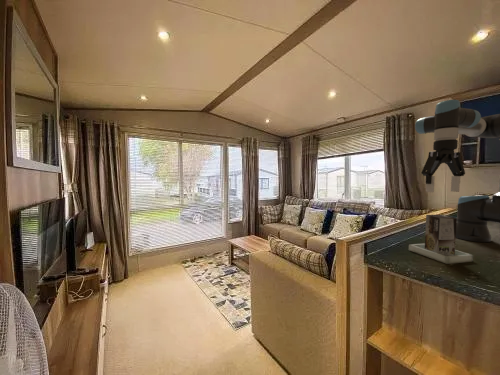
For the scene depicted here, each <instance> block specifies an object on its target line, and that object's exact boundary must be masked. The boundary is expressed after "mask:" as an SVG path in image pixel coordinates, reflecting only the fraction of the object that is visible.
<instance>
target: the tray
mask: <svg viewBox="0 0 500 375" xmlns="http://www.w3.org/2000/svg"><path fill="white" fill-rule="evenodd" d="M408 251H409V252H413V253H415V254H418V255H421V256H424V257H426V258H430V259H432V260H434V261H438V262H441V263H443V264H446V265H448V264H449V265H450V264H451V265H453V264H459V263H460V264H461V263H469V262H474V254H471V253H468V252H465V251H461V250H457V249H455V256H444V255H441V254H438V253H435V252H432V251H429V250H426V249H425V242H423V243H413V244H408Z"/></svg>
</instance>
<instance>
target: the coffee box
mask: <svg viewBox="0 0 500 375" xmlns="http://www.w3.org/2000/svg"><path fill="white" fill-rule="evenodd" d="M456 224H457V217H452V216H448V215H443V214H426V215H425V232H424V233H425V235H424V236H425V237H424V243H425V249H426V250H429V251H432V252H435V253H438V254H441V255H444V256H455V250H456V240H457V238H456Z"/></svg>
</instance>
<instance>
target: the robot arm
mask: <svg viewBox="0 0 500 375" xmlns="http://www.w3.org/2000/svg"><path fill="white" fill-rule="evenodd" d="M435 105H436V106H435V111H434V115H430V116H424V117H421V118H419V119H417V120H416V121H415V123H414V128H415V131H416V133H418V134H420V135H421V134H422V135H423V134H428V133H429V134H430V133H431V134H433V140H434V141H433V145H432V147H433V148H432V149H433V151H429V152H428V156H427V159H426V161H425V163H424V165H423V167H422V171H421V175H423V177H425V192H426V193H435V178H436V176H435V175H434V174H435V173H436V171H437V170H438V169H439V167H440V166H441V165H442V164H445V165H447V166H448V168H449V170H450V172H451V173H452V176H451V179H450V180H451V182H450V184H451V185H450V192H452V193H453V192H454V193H455V192H456V193H459V192H460V184H461V177H464V176H465V175H466V170H465V168H464V164H463V161H462V158H461V157H462V156H461V152H460V151H458V152H455V150H457V149H458V145H459V144H458V142H459V141H458V140H457V139H458V138H459V135H465V136H467V137H470V138H484V139H497V138H499V139H498V140H499V141H500V113H497V114H492V115H488V116H487V115H486V116H482V115H481V113H480V112H479V111H478V110H476V109H473V108H465V107H461V101H460V100H459V99H447V100H442V101H440V102H438V103H436V104H435ZM497 186H498V187H497V192H496V193H494V194H492V198H491V197H490V195H462V196H460V197H459V198H458V202H457V213H456V215H457V216H456V218H457V224H456V239H460V240H464V241H470V242H475V243H490V242H492V236H491V232H490V230H489V228H488V227H489V226H488V222H491V223H497V224H500V176H499V178H498V185H497Z"/></svg>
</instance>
